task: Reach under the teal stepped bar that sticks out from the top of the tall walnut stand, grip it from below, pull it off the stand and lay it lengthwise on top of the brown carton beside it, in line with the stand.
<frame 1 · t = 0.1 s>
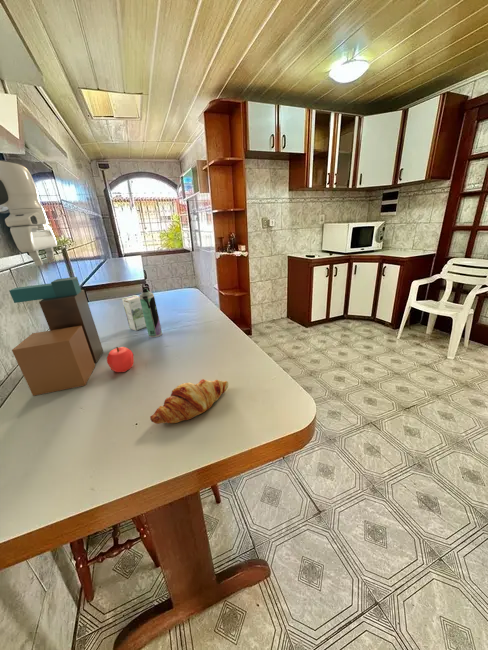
hand: (46, 263, 90), 34 cm above the table, tool pointing down, fingers open, 8 cm apart
spray can: (155, 335, 112), on the table
stand: (85, 359, 96), on the table
carton: (66, 379, 84), on the table
teal stepped bar: (49, 297, 86), point 24 cm above the table, touching stand
syrup box: (138, 328, 121), on the table
croissant: (194, 408, 66), on the table
apple: (123, 369, 88), on the table
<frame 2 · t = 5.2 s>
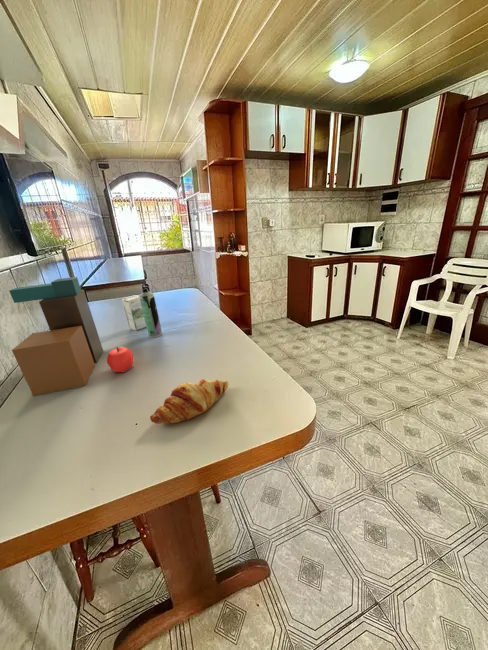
nothing on the table moved.
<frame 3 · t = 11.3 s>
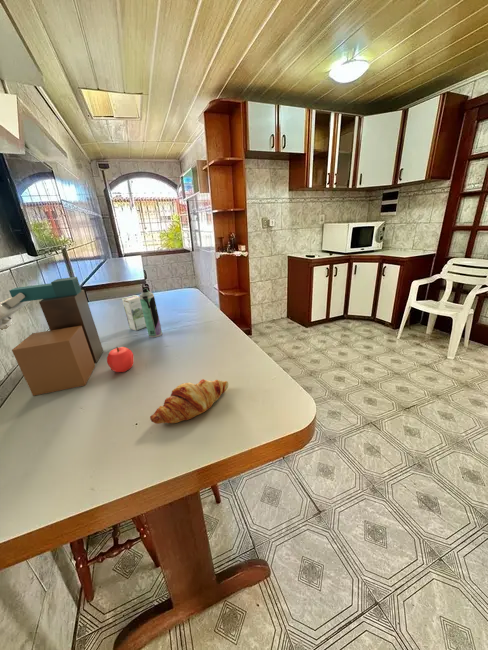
hand: (27, 292, 84), 26 cm above the table, tool pointing upward, fingers closed on teal stepped bar, 4 cm apart
teal stepped bar: (49, 297, 86), point 24 cm above the table, touching gripper, stand
everything else where it was.
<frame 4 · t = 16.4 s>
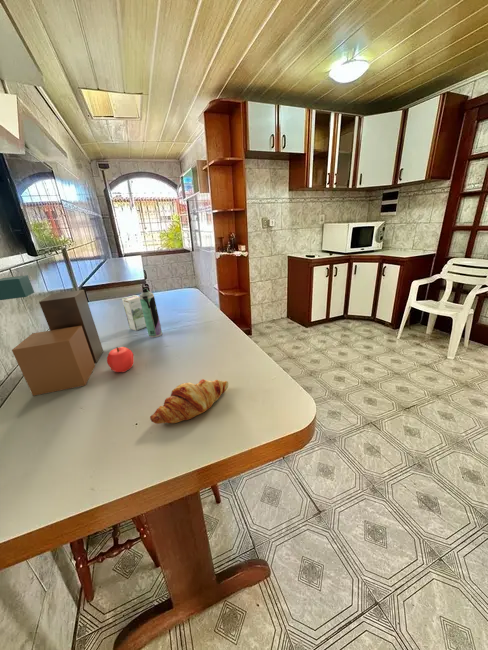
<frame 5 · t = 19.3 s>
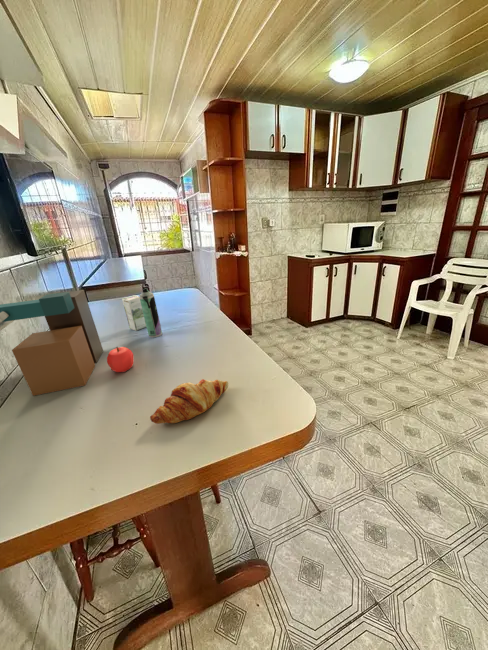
hand: (12, 310, 73), 24 cm above the table, tool pointing upward, fingers closed on teal stepped bar, 4 cm apart
teal stepped bar: (37, 315, 75), point 22 cm above the table, touching gripper
everything else where it was.
when the fingers open (17 cm above the table, at t = 21.6 s): teal stepped bar stays where it is, resting on carton.
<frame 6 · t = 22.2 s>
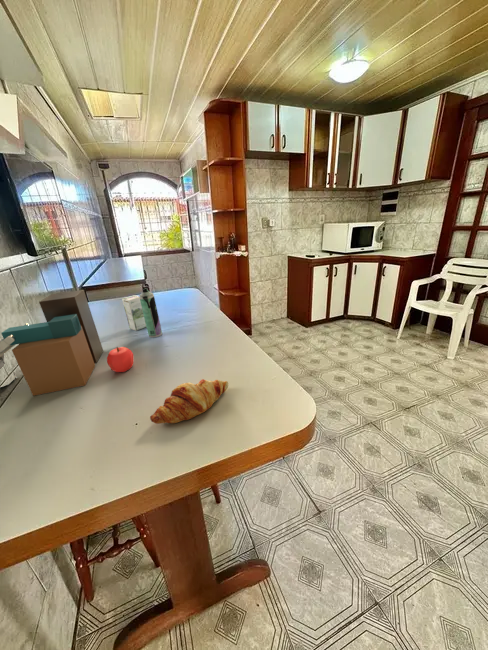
hand: (21, 331, 76), 18 cm above the table, tool pointing upward, fingers open, 8 cm apart
teal stepped bar: (45, 337, 78), point 15 cm above the table, touching carton
everything else where it was.
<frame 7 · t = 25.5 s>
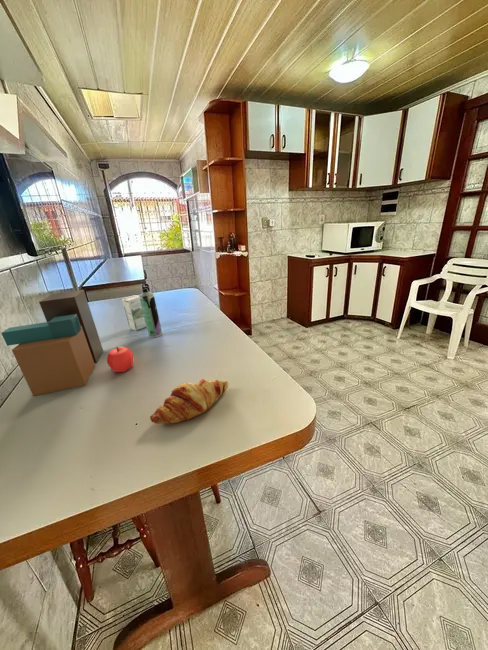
nothing on the table moved.
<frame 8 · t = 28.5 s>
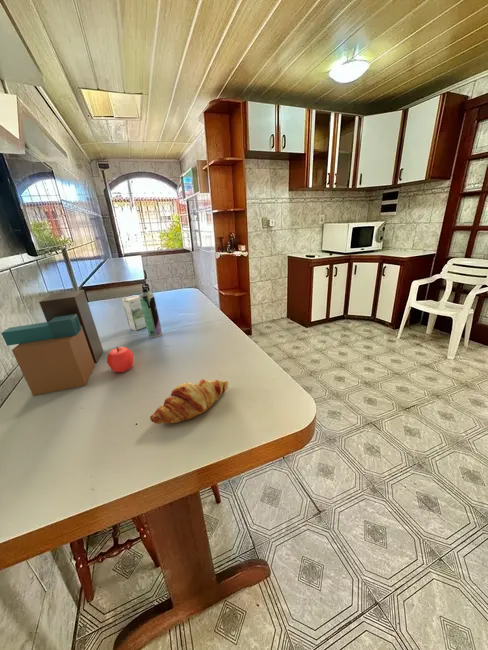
nothing on the table moved.
at the end: teal stepped bar inside the target area on the carton (0.9 cm from its centre), point 15.0 cm above the carton's base; teal stepped bar tilted 0°; the gripper is holding nothing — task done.
